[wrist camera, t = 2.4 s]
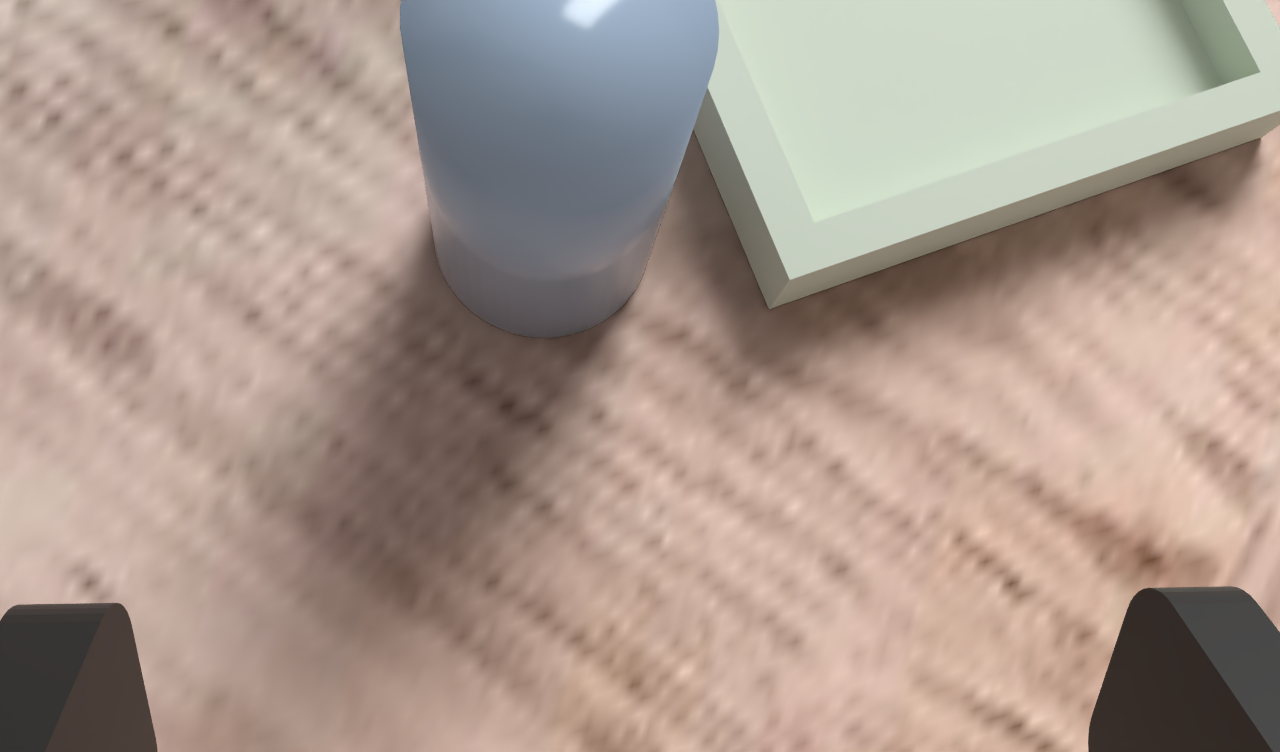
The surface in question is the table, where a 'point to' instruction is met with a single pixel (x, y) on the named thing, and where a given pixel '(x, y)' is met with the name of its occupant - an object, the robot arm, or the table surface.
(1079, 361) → the table surface
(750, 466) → the table surface
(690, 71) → the dome-topped blue cylinder
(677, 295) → the table surface
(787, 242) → the sage tray
